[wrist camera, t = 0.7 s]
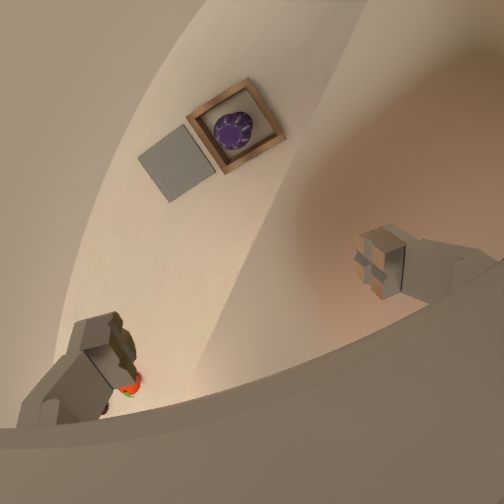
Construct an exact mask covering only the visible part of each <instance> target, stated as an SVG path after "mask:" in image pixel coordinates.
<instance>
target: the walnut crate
mask: <svg viewBox="0 0 504 504" xmlns="http://www.w3.org/2000/svg"><path fill="white" fill-rule="evenodd" d="M245 88H247V89H248V91H249V93H250V94H251V96H252V97H253V99H254V100H255V102H256V103H257V105H258V106H259V108H260V109H261V111H262V113H263V114H264V116H265V117H266V119H267V120H268V122H269V124H270V125H271V127H272V128H273V130H274V132H275V133H274V134H272V135H271V136H269V137H267V138H265V139H264V140H262V141H260V142H259V143H257V144H255V145H253V146H252V147H250V148H248V149H247V150H245V151H243V152H242V153H240V154H238V155H237V156H235V157H233V158H232V159H230V160H229V159H228V158H227V156H226V155H225V153H224V152H223V150H222V149H221V147H220V146H219V144H218V143H217V142H216V140H215V138H214V137H213V135H212V134H211V133H210V131H209V130H208V128H207V127H206V125H205V124H204V122H203V121H202V119H201V118H200V116H202V115H203V114H205V113H206V112H208V111H209V110H211V109H213V108H214V107H216V106H217V105H219V104H220V103H222V102H224V101H225V100H227V99H229V98H230V97H232V96H234V95H235V94H237V93H239V92H240V91H242V90H244V89H245ZM186 119H187V120H188V122H189V123H190V124H191V126H192V127H193V129H194V130H195V132H196V133H197V135H198V136H199V138H200V139H201V140H202V142H203V143H204V145H205V146H206V148H207V149H208V151H209V152H210V154H211V155H212V157H213V158H214V160H215V161H216V163H217V164H218V165H219V167H220V168H221V170H222V171H223V173H224V174H225V175H226V174H227V173H229V172H231V171H232V170H234V169H236V168H237V167H239V166H240V165H242V164H244V163H245V162H247V161H249V160H251V159H252V158H254V157H256V156H257V155H259V154H261V153H262V152H264V151H266V150H268V149H269V148H271V147H273V146H275V145H276V144H278V143H280V142H282V141H283V140H285V139H287V138H286V136H285V135H284V133H283V131H282V130H281V128H280V126H279V125H278V123H277V121H276V120H275V118H274V117H273V115H272V113H271V112H270V110H269V109H268V107H267V106H266V104H265V102H264V101H263V99H262V98H261V96H260V95H259V93H258V92H257V90H256V89H255V87H254V86H253V84H252V83H251V81H250V80H249V78H247V79H245V80H243V81H241V82H240V83H238V84H236V85H235V86H233V87H231V88H230V89H228V90H226V91H225V92H223V93H221V94H220V95H218V96H217V97H215V98H213V99H212V100H210V101H209V102H207V103H206V104H204V105H202V106H201V107H199V108H198V109H196V110H195V111H193V112H192V113H190V114H189V115H188V116H186Z"/></svg>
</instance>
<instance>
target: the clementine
mask: <svg viewBox="0 0 504 504" xmlns="http://www.w3.org/2000/svg"><path fill="white" fill-rule="evenodd" d="M139 388H140V380H139V378H138V376H137V375H136V384H134V385H130V386H127V387H123V388H119V389H118V390H119V391H120V392H121V393H123V394H125V395H126V396H128V397H131V396H130V395H133V394H135V393H136V392H137V391H138V390H139ZM134 396H135V395H134ZM134 396H133V397H134Z"/></svg>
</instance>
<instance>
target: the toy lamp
mask: <svg viewBox="0 0 504 504" xmlns="http://www.w3.org/2000/svg"><path fill="white" fill-rule="evenodd" d="M252 125H253V123H252V120H251V118H250V116H249V115H247V114H246V113H243V112H236V113H234V114H227V115H224V116H222V117H221V118H220V119H219V120H218V121H217V122H216V124H215V126H214V138H215V140H216V142H217V143H218V144H219V145H220V146H221V147H223V148H225V149H228V150H236V149H239V148H241V147H243V146H245V145H246V144H247V142H248V141H249V139H250V136H251V129H252Z"/></svg>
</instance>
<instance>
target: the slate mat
mask: <svg viewBox="0 0 504 504" xmlns="http://www.w3.org/2000/svg"><path fill="white" fill-rule="evenodd" d="M138 160H139V161H140V163H141V164H142V165H143V167H144V168H145V170H146V171H147V172H148V174H149V175H150V177H151V178H152V179H153V181H154V182H155V184H156V185H157V186H158V188H159V189H160V190H161V192H162V193H163V195H164V196H165V197H166V199H167V200H168V201H169V203H170V202H171V201H173V200H174V199H176V198H177V197H179V196H180V195H182V194H183V193H185V192H186V191H188V190H189V189H191V188H192V187H194V186H195V185H197V184H198V183H200V182H201V181H203V180H205V179H206V178H208V177H209V176H211V175H212V174H214V173H216V171H215V170H214V168H213V167H212V165H211V164H210V162H209V161H208V160H207V158H206V157H205V155H204V154H203V152H202V151H201V149H200V148H199V146H198V145H197V144H196V142H195V141H194V139H193V138H192V136H191V135H190V133H189V132H188V130H187V129H186V128H185V126H184V125H182V126H180V127H179V128H177V129H176V130H174V131H173V132H172V133H170V134H169V135H167V136H166V137H165V138H163V139H162V140H161V141H159V142H158V143H157V144H155V145H154V146H153V147H151V148H150V149H149V150H147V151H146V152H145V153H143V154H142V155H141V156H140V157H138Z"/></svg>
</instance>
